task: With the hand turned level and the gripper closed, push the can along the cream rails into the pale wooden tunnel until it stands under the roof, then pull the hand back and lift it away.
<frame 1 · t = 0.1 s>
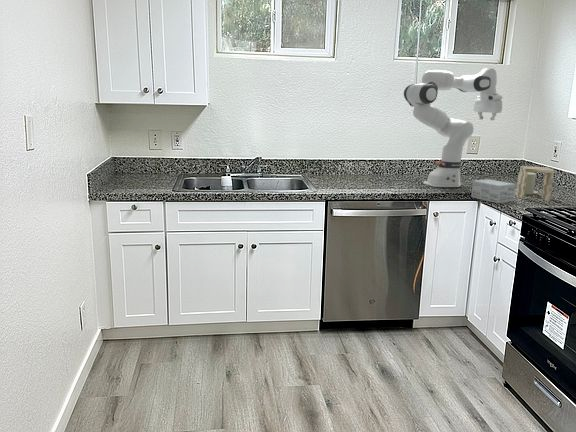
hand: (486, 119, 307), 39 cm above the worktop, tool pointing down, fingers open, 8 cm apart
supplement box: (492, 199, 268), on the worktop
tunnel: (532, 198, 273), on the worktop
can: (524, 193, 288), on the worktop
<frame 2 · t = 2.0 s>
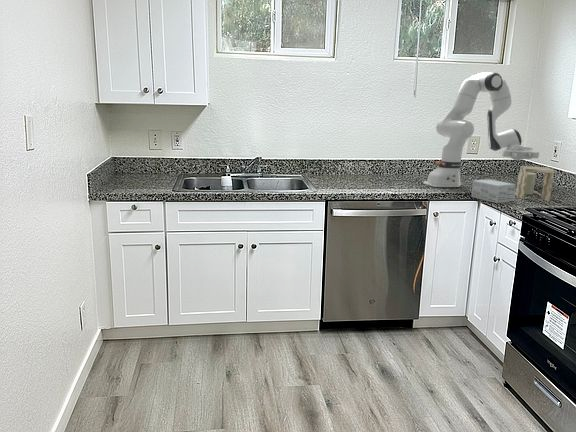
hand: (523, 155, 293), 20 cm above the worktop, tool horizontal, fingers open, 5 cm apart
nothing on the worktop moved.
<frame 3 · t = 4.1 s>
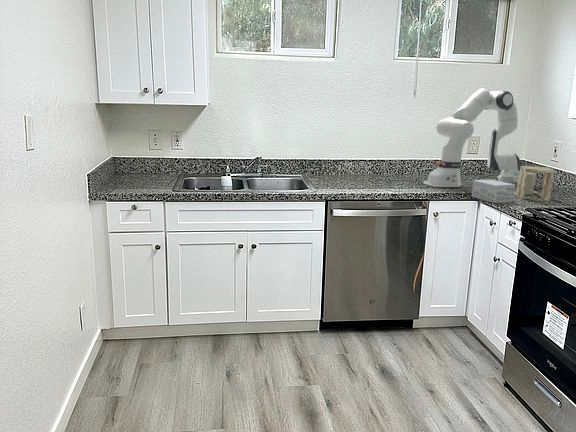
hand: (520, 181, 297), 5 cm above the worktop, tool horizontal, fingers closed
nothing on the worktop moved.
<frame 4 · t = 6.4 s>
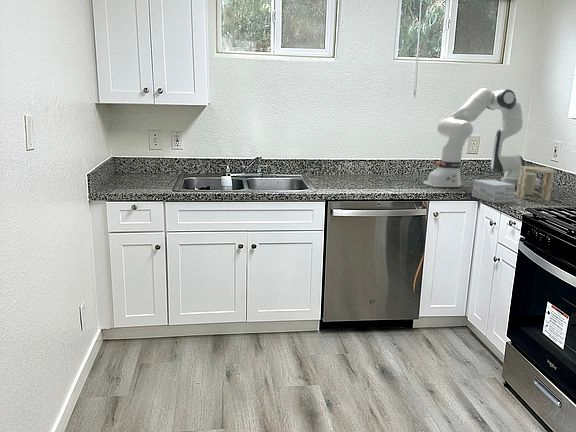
hand: (524, 183, 289), 5 cm above the worktop, tool horizontal, fingers closed
can: (524, 193, 287), on the worktop, touching gripper
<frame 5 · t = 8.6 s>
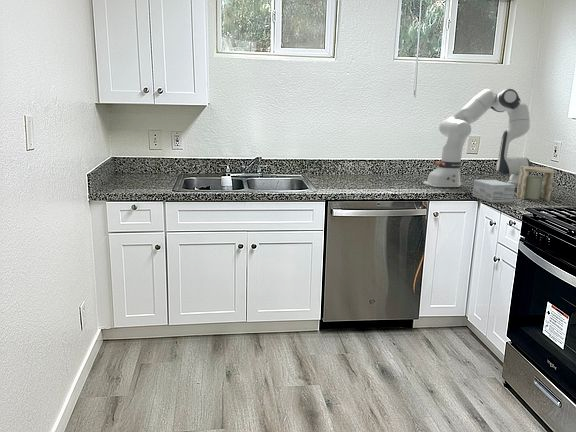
hand: (531, 187, 277), 5 cm above the worktop, tool horizontal, fingers closed, pressing on can
can: (530, 197, 275), on the worktop, touching gripper
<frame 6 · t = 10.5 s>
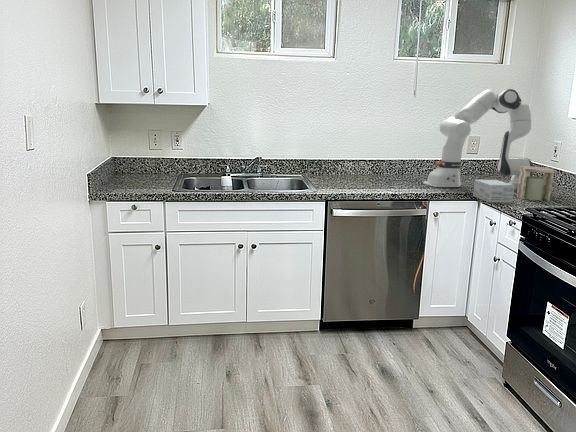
hand: (532, 188, 275), 5 cm above the worktop, tool horizontal, fingers closed
can: (532, 199, 272), on the worktop
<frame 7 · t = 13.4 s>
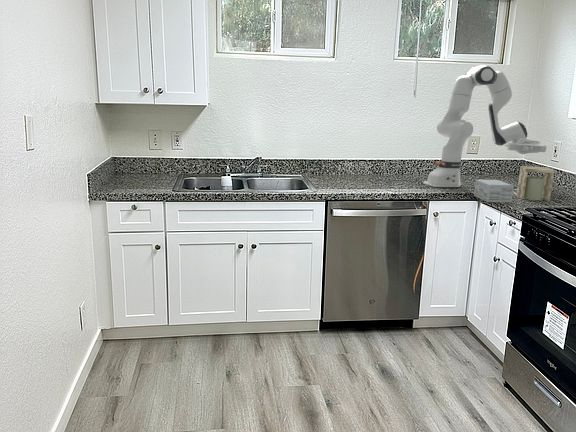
hand: (530, 149, 282), 25 cm above the worktop, tool horizontal, fingers closed
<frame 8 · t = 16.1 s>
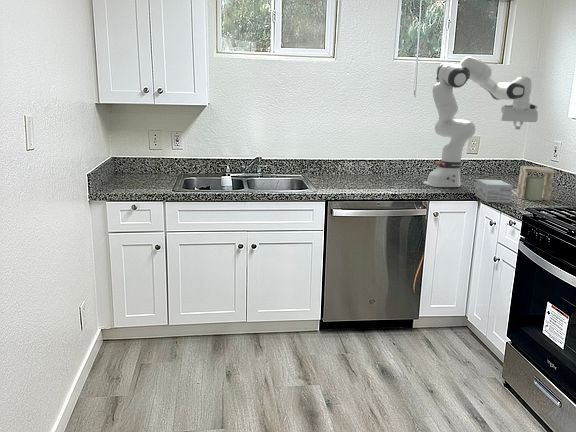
hand: (517, 129, 302), 34 cm above the worktop, tool pointing down, fingers closed
at the end: can 1.0 cm from the tunnel (horizontally); can tilted 0°; supplement box moved 0.4 cm from its start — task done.
